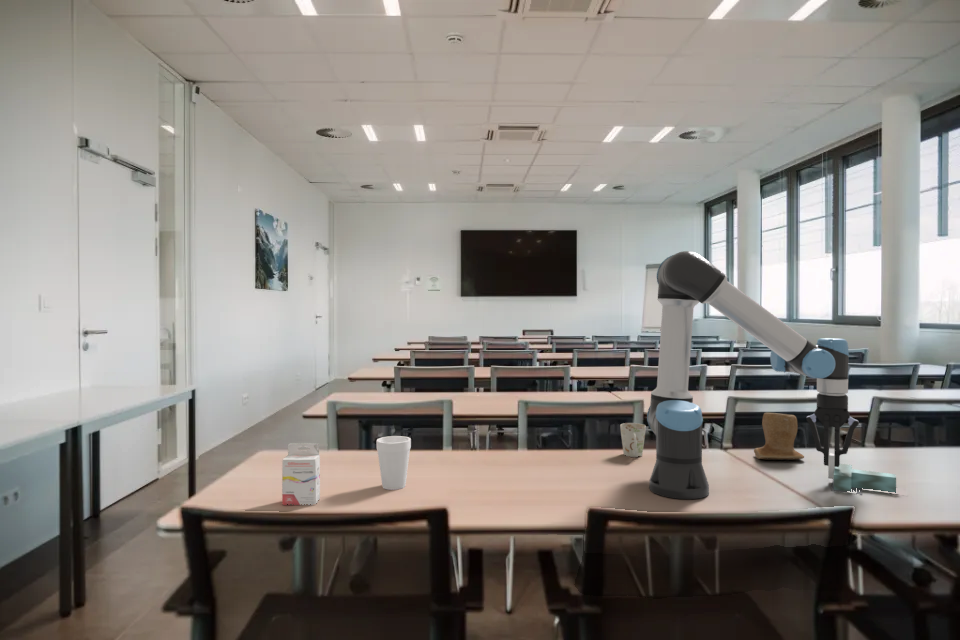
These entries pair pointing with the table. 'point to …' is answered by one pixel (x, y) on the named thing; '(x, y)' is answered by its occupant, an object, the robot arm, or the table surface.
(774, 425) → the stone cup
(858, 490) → the pad
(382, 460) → the foam cup
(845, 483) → the t block
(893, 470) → the table surface
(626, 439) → the mug
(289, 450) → the ink cartridge box
